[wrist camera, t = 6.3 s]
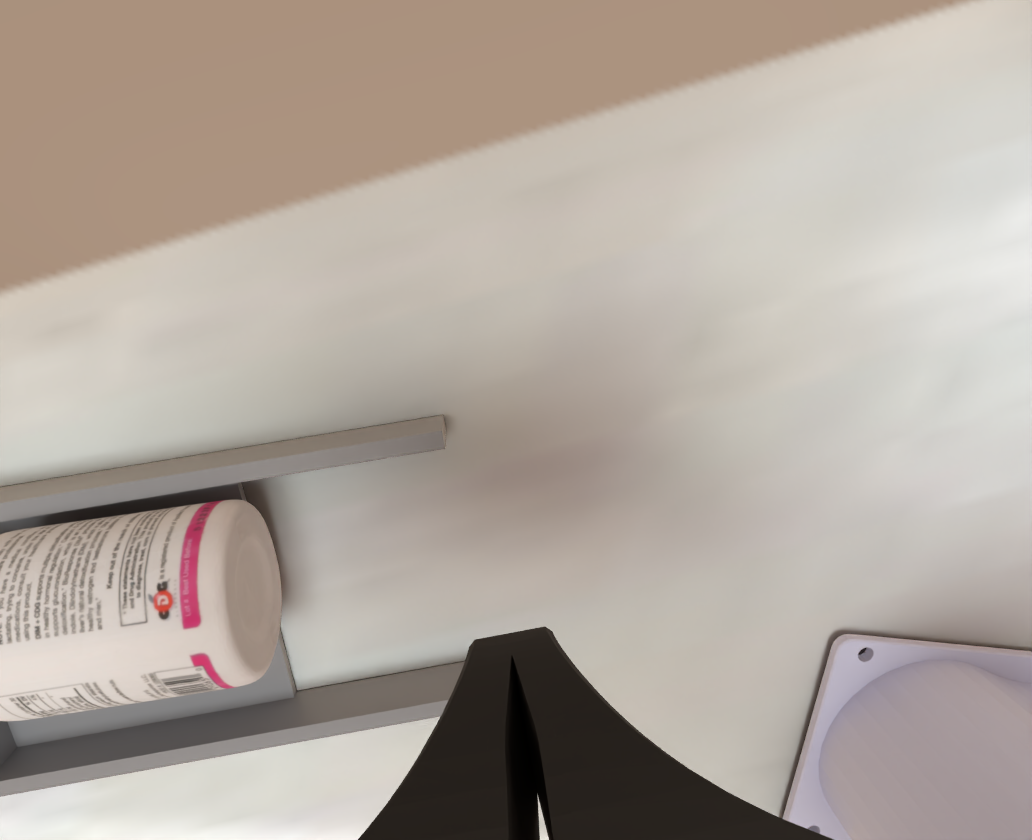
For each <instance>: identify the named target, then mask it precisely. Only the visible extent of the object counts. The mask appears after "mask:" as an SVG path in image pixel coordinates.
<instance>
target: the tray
mask: <svg viewBox="0 0 1032 840" xmlns="http://www.w3.org/2000/svg"><path fill="white" fill-rule="evenodd" d="M445 445H446V427H445V421H444V416H443V415H439V416H433V417H427V418H421V419H415V420H408V421H402V422H396V423H390V424H384V425H378V426H372V427H366V428H359V429H353V430H347V431H341V432H335V433H329V434H323V435H316V436H310V437H304V438H298V439H292V440H286V441H280V442H274V443H267V444H261V445H255V446H249V447H243V448H237V449H231V450H225V451H218V452H212V453H206V454H200V455H194V456H188V457H182V458H176V459H169V460H163V461H157V462H151V463H145V464H139V465H133V466H127V467H120V468H114V469H108V470H102V471H96V472H90V473H84V474H78V475H71V476H65V477H59V478H53V479H47V480H41V481H35V482H29V483H22V484H16V485H10V486H4V487H0V534H3V533H6V532H11V531H15V530H21V529H27V528H34V527H40V526H47V525H55V524H61V523H68V522H76V521H83V520H90V519H97V518H104V517H111V516H118V515H125V514H132V513H139V512H146V511H152V510H160V509H166V508H173V507H180V506H187V505H193V504H201V503H208V502H214V501H222V500H244V501H246V498H245V494H244V490H243V486H242V483H241V482H246V481H252V480H258V479H264V478H270V477H276V476H282V475H288V474H294V473H300V472H306V471H312V470H318V469H324V468H330V467H336V466H342V465H348V464H354V463H361V462H367V461H373V460H379V459H385V458H391V457H397V456H403V455H409V454H415V453H421V452H427V451H433V450H439V449H445ZM464 663H465V661H464V662H459V663H453V664H447V665H442V666H436V667H431V668H425V669H419V670H414V671H408V672H403V673H397V674H392V675H386V676H380V677H375V678H369V679H364V680H358V681H353V682H347V683H341V684H336V685H330V686H325V687H319V688H313V689H308V690H302V691H296V688H295V684H294V680H293V676H292V672H291V669H290V665H289V661H288V657H287V653H286V650H285V646H284V642H283V638H282V634H281V631H279V637H278V641H277V645H276V649H275V652H274V655H273V658H272V661H271V664H270V666H269V668H268V669H267V671H266V672H265V674H264V675H263V676H262V677H261V678H260V679H258V680H257V681H255V682H253V683H250V684H248V685H243V686H239V687H234V688H228V689H222V690H216V691H210V692H203V693H197V694H191V695H184V696H177V697H172V698H166V699H160V700H153V701H146V702H141V703H133V704H127V705H121V706H114V707H108V708H102V709H95V710H89V711H82V712H75V713H69V714H63V715H56V716H50V717H43V718H36V719H29V720H22V721H0V797H1V796H6V795H12V794H17V793H23V792H28V791H34V790H39V789H45V788H50V787H56V786H61V785H67V784H72V783H78V782H83V781H89V780H94V779H99V778H105V777H110V776H116V775H121V774H127V773H132V772H138V771H143V770H149V769H154V768H160V767H165V766H171V765H176V764H182V763H187V762H193V761H198V760H204V759H209V758H215V757H220V756H226V755H231V754H237V753H242V752H248V751H253V750H258V749H264V748H269V747H275V746H280V745H286V744H291V743H297V742H302V741H308V740H313V739H319V738H324V737H330V736H335V735H341V734H346V733H352V732H357V731H363V730H368V729H374V728H379V727H385V726H390V725H396V724H401V723H406V722H412V721H417V720H423V719H428V718H434V717H439V716H441V715H442V713H443V711H444V709H445V707H446V704H447V702H448V700H449V698H450V696H451V694H452V692H453V690H454V687H455V685H456V683H457V680H458V678H459V676H460V673H461V671H462V668H463V665H464Z"/></svg>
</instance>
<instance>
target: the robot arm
mask: <svg viewBox="0 0 1032 840" xmlns="http://www.w3.org/2000/svg"><path fill="white" fill-rule="evenodd" d="M863 648H866V650H865V652H864V653H862V654H860V655H858V653H859V652H860V650H862V649H863ZM537 793H538V797H539V801H540V805H541V809H542V813H543V817H544V821H545V825H546V829H547V833H548V837H549V840H1032V651H1023V650H1013V649H1002V648H992V647H981V646H971V645H960V644H950V643H940V642H929V641H919V640H908V639H898V638H887V637H877V636H867V635H856V634H844V635H842V636H839V637H838V638H837V639H836V640H835V641H834V642H833V644H832V646H831V650H830V654H829V657H828V661H827V664H826V668H825V671H824V675H823V678H822V682H821V685H820V689H819V692H818V696H817V699H816V703H815V706H814V710H813V713H812V717H811V720H810V724H809V727H808V731H807V734H806V738H805V741H804V745H803V749H802V752H801V756H800V759H799V763H798V766H797V770H796V773H795V777H794V780H793V784H792V787H791V791H790V794H789V798H788V801H787V805H786V808H785V812H784V815H783V819H782V818H779V817H777V816H774V815H772V814H770V813H768V812H766V811H764V810H762V809H760V808H758V807H756V806H754V805H752V804H750V803H748V802H746V801H744V800H742V799H740V798H738V797H736V796H734V795H732V794H730V793H728V792H726V791H725V790H723V789H721V788H720V787H718V786H716V785H715V784H713V783H711V782H710V781H708V780H706V779H705V778H703V777H701V776H700V775H698V774H696V773H695V772H693V771H692V770H690V769H688V768H687V767H685V766H684V765H683V764H681V763H680V762H678V761H677V760H675V759H674V758H673V757H671V756H670V755H668V754H667V753H666V752H664V751H663V750H662V749H660V748H659V747H658V746H657V745H655V744H654V743H653V742H651V741H650V740H649V739H648V738H646V737H645V736H644V735H643V734H642V733H640V732H639V731H638V730H637V729H636V728H635V727H633V726H632V725H631V724H630V723H629V722H628V721H627V720H626V719H625V718H624V717H622V716H621V715H620V714H619V713H618V712H617V711H616V710H615V709H614V708H613V707H612V706H611V705H610V704H609V703H608V702H607V701H606V700H605V699H604V698H603V697H602V696H601V695H600V694H599V693H598V692H597V691H596V689H595V688H594V687H593V686H592V685H591V684H590V683H589V682H588V681H587V679H586V678H585V677H584V676H583V675H582V674H581V673H580V671H579V670H578V669H577V668H576V667H575V665H574V664H573V663H572V661H571V660H570V659H569V657H568V656H567V655H566V653H565V652H564V651H563V649H562V648H561V646H560V645H559V643H558V641H557V640H556V638H555V636H554V634H553V632H552V631H551V630H549V629H548V628H546V627H540V628H535V629H530V630H524V631H519V632H514V633H508V634H503V635H498V636H493V637H487V638H482V639H477V640H474V642H473V643H472V644H471V646H470V647H469V650H468V654H467V657H466V660H465V663H464V665H463V668H462V671H461V673H460V676H459V678H458V680H457V683H456V685H455V687H454V690H453V692H452V694H451V696H450V698H449V700H448V702H447V704H446V707H445V709H444V711H443V713H442V715H441V717H440V719H439V721H438V723H437V725H436V727H435V728H434V730H433V732H432V734H431V735H430V737H429V739H428V741H427V742H426V744H425V746H424V748H423V749H422V751H421V753H420V755H419V757H418V758H417V760H416V761H415V763H414V765H413V766H412V768H411V769H410V771H409V772H408V774H407V776H406V777H405V779H404V780H403V782H402V783H401V785H400V786H399V787H398V789H397V790H396V792H395V793H394V794H393V796H392V797H391V799H390V800H389V801H388V803H387V804H386V806H385V807H384V808H383V809H382V811H381V812H380V813H379V814H378V816H377V817H376V818H375V820H374V821H373V822H372V823H371V825H370V826H369V827H368V828H367V829H366V831H365V832H364V833H363V834H362V835H361V837H360V838H359V839H358V840H540V836H539V816H538V797H537ZM810 826H812V827H811V828H809V827H810Z"/></svg>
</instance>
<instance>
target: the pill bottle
mask: <svg viewBox="0 0 1032 840" xmlns="http://www.w3.org/2000/svg"><path fill="white" fill-rule="evenodd" d="M281 611H282V592H281V580H280V572H279V566H278V561H277V557H276V553H275V549H274V546H273V542H272V539H271V536H270V533H269V530H268V527H267V525H266V523H265V521H264V519H263V517H262V516H261V514H260V513H259V511H258V510H257V509H256V508H255V507H254V506H253V505H252V504H250V503H248V502H246V501H244V500H222V501H214V502H208V503H201V504H193V505H187V506H180V507H173V508H166V509H160V510H152V511H146V512H139V513H132V514H125V515H118V516H111V517H104V518H97V519H90V520H83V521H76V522H68V523H61V524H55V525H47V526H40V527H34V528H27V529H21V530H15V531H11V532H6V533H3V534H0V721H22V720H29V719H36V718H43V717H50V716H56V715H63V714H69V713H75V712H82V711H89V710H95V709H102V708H108V707H114V706H121V705H127V704H133V703H141V702H146V701H153V700H160V699H166V698H172V697H177V696H184V695H191V694H197V693H203V692H210V691H216V690H222V689H228V688H234V687H239V686H243V685H248V684H250V683H253V682H255V681H257V680H258V679H260V678H261V677H262V676H263V675H264V674H265V672H266V671H267V669H268V668H269V666H270V664H271V661H272V658H273V655H274V652H275V649H276V645H277V641H278V637H279V631H280V625H281Z"/></svg>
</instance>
